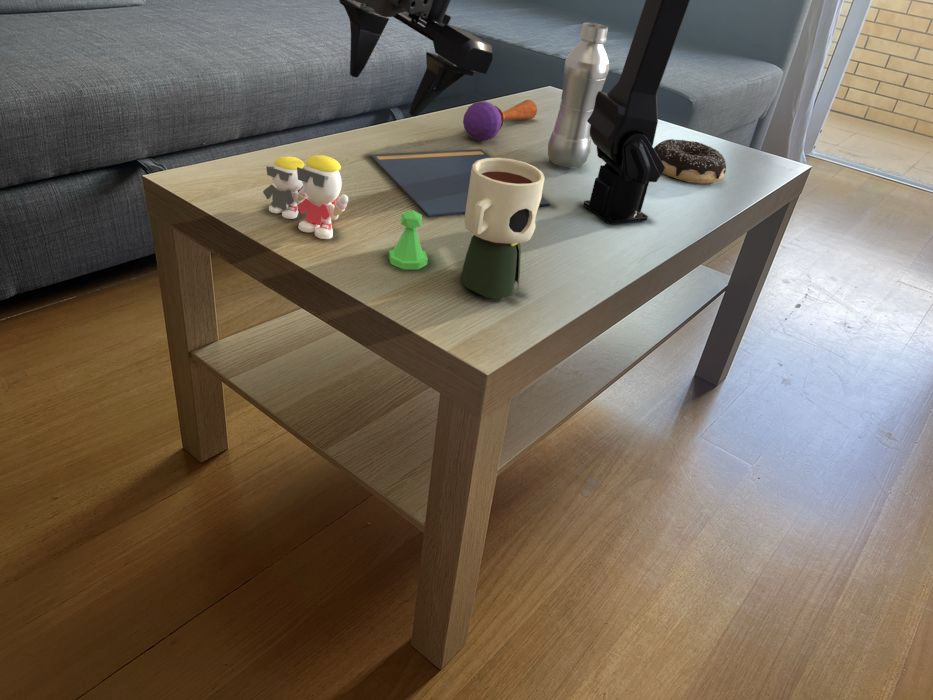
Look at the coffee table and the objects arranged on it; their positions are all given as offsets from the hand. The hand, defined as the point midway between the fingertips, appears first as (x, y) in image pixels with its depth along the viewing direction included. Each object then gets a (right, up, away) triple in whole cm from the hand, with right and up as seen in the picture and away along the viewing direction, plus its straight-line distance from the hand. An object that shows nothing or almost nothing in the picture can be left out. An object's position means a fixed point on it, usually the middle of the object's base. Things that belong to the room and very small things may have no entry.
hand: (382, 95), depth 80 cm
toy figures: (-9, -14, +4) cm, 17 cm away
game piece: (+3, -19, -1) cm, 19 cm away
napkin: (+8, -5, +20) cm, 22 cm away
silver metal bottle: (+25, 0, +31) cm, 39 cm away
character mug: (+12, -22, -4) cm, 25 cm away
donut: (+44, 0, +35) cm, 57 cm away
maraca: (+15, +8, +40) cm, 44 cm away
